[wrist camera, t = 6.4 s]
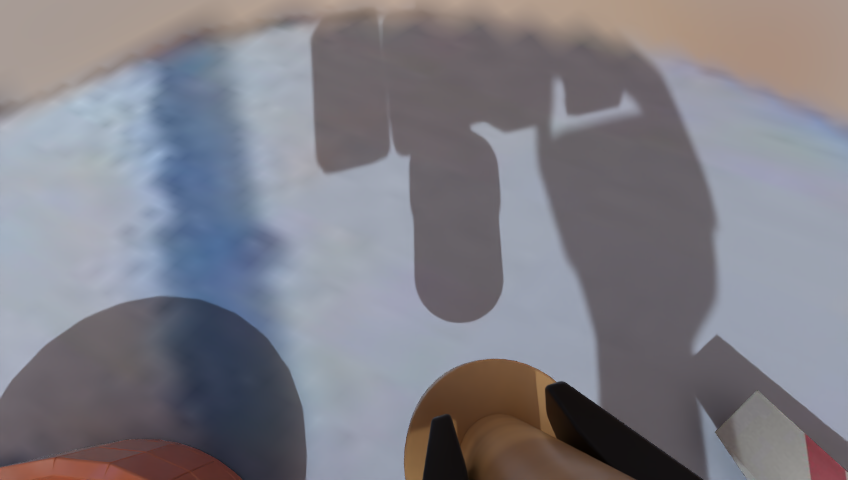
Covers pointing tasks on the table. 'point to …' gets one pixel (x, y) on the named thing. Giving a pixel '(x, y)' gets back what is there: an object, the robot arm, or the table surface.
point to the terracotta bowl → (123, 463)
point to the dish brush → (499, 426)
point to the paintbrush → (774, 445)
